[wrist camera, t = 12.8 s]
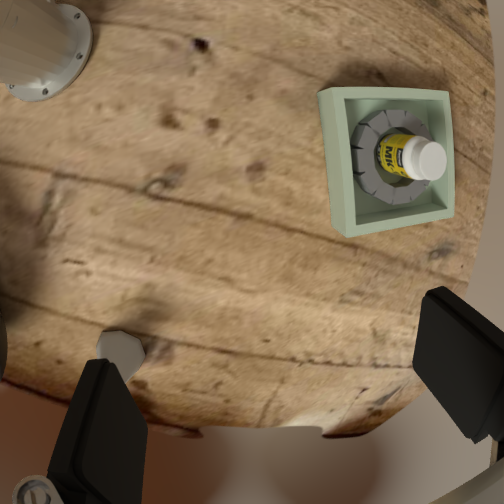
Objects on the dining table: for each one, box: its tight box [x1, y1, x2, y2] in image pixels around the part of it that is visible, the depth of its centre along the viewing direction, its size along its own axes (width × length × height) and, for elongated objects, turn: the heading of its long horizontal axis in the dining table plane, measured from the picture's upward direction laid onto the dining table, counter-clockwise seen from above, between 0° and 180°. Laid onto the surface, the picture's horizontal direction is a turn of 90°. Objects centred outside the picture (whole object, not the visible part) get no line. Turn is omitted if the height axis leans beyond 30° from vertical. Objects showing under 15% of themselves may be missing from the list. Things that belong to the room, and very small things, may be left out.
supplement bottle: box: [374, 133, 447, 181], centre depth 31 cm, size 5×5×8 cm
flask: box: [96, 331, 146, 383], centre depth 36 cm, size 7×7×10 cm
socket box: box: [317, 87, 455, 238], centre depth 34 cm, size 16×16×4 cm
